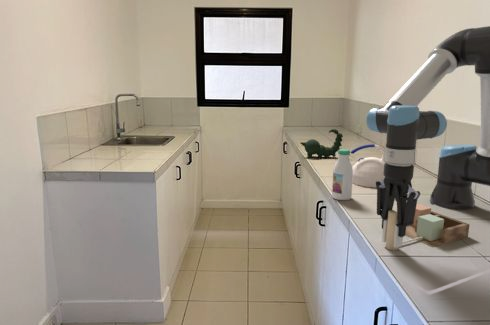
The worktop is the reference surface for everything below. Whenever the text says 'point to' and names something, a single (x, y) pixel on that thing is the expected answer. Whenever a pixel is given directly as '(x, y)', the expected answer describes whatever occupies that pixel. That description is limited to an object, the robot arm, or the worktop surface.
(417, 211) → the terracotta block
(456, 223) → the lane shelf
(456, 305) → the worktop surface
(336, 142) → the toy figurine
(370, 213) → the worktop surface
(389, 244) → the green headed mallet
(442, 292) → the worktop surface
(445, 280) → the worktop surface
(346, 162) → the milk bottle
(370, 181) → the kettle
